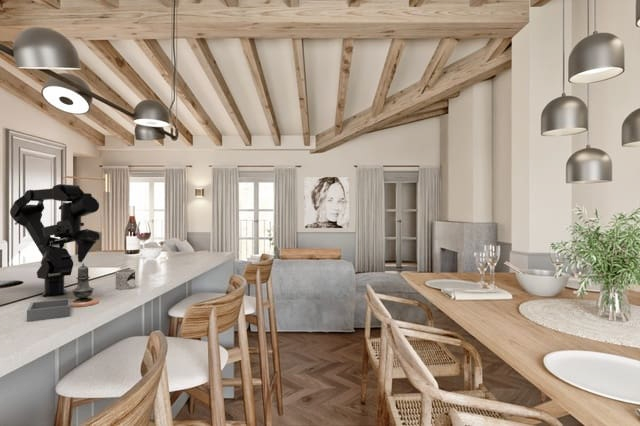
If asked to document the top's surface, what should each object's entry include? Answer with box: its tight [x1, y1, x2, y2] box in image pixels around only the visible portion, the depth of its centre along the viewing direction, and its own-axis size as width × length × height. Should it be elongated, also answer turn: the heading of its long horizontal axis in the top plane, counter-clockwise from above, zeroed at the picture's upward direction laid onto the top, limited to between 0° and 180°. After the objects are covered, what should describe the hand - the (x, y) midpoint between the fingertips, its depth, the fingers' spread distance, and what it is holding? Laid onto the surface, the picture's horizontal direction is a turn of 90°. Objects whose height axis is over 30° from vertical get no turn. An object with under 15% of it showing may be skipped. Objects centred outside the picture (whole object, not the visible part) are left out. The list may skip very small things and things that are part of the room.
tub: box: [26, 298, 72, 323], centre depth 104 cm, size 10×10×3 cm
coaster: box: [71, 296, 100, 308], centre depth 116 cm, size 8×8×1 cm
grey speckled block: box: [115, 269, 136, 291], centre depth 141 cm, size 10×7×7 cm, turn 5°
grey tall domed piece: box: [71, 262, 94, 303], centre depth 116 cm, size 6×6×12 cm
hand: (68, 264), depth 119 cm, fingers open, 9 cm apart
